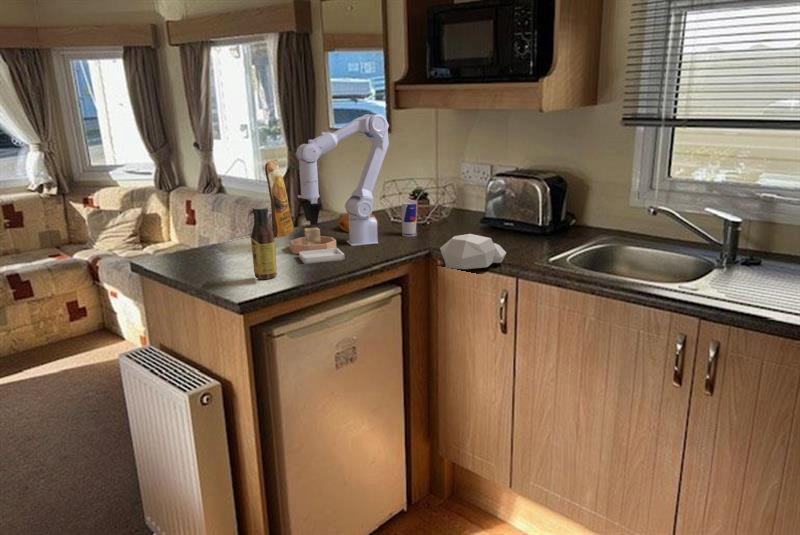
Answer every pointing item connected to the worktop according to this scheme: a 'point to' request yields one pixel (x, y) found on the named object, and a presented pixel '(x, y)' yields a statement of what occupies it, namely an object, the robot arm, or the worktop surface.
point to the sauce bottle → (263, 245)
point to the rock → (471, 252)
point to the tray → (321, 255)
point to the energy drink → (409, 219)
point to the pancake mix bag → (278, 200)
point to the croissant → (345, 222)
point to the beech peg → (312, 236)
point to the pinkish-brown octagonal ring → (300, 245)
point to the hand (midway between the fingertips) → (311, 222)
